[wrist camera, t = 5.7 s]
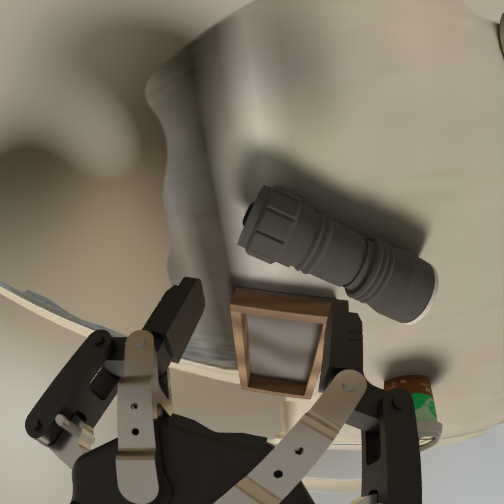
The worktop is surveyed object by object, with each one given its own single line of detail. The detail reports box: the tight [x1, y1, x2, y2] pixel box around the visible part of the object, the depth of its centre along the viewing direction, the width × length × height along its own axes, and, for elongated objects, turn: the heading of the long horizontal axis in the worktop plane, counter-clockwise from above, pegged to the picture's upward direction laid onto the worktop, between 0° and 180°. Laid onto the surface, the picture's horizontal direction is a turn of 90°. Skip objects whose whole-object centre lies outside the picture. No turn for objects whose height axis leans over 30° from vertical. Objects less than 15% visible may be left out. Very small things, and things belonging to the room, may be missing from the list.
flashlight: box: [237, 185, 438, 325], centre depth 20 cm, size 15×5×5 cm, turn 70°
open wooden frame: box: [230, 287, 332, 399], centre depth 31 cm, size 18×10×2 cm, turn 2°
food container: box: [384, 375, 442, 452], centre depth 28 cm, size 12×6×10 cm, turn 57°
